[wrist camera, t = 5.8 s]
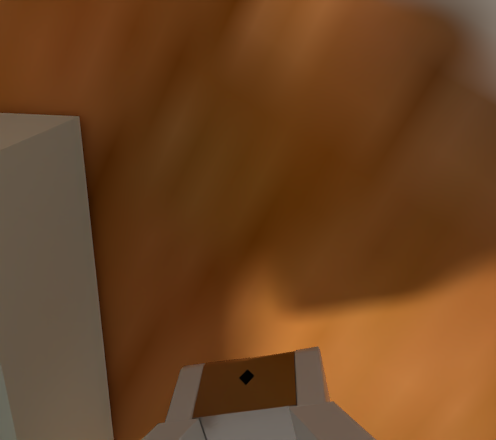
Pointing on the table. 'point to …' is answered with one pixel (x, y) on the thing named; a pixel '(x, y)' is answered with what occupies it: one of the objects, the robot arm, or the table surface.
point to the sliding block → (48, 286)
